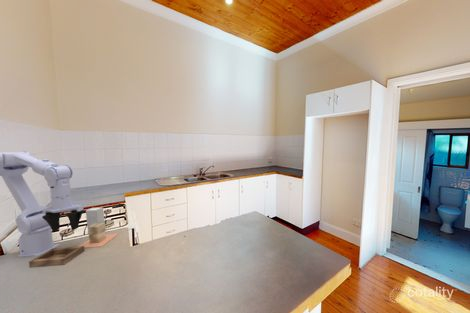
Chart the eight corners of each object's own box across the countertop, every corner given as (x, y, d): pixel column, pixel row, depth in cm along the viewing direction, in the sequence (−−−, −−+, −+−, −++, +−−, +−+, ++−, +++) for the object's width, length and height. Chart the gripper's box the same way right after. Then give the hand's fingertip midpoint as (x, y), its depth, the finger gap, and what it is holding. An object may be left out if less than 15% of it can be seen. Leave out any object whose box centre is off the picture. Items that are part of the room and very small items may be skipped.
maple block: (89, 243, 78) (88, 227, 77) (96, 238, 82) (95, 223, 81) (99, 242, 78) (97, 226, 77) (105, 238, 82) (104, 222, 81)
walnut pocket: (29, 268, 64) (28, 261, 64) (53, 254, 72) (52, 248, 72) (65, 265, 64) (64, 259, 64) (84, 252, 72) (83, 246, 72)
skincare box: (106, 230, 93) (103, 207, 92) (99, 234, 89) (96, 210, 88) (95, 230, 93) (92, 207, 93) (87, 234, 89) (85, 210, 89)
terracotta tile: (75, 250, 74) (75, 248, 74) (95, 236, 85) (95, 235, 85) (102, 248, 75) (101, 246, 74) (119, 235, 86) (118, 233, 85)
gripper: (32, 200, 68) (36, 235, 69) (70, 197, 68) (74, 232, 69) (51, 195, 75) (55, 227, 76) (86, 192, 75) (89, 225, 76)
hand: (65, 229), depth 73 cm, fingers open, 7 cm apart
